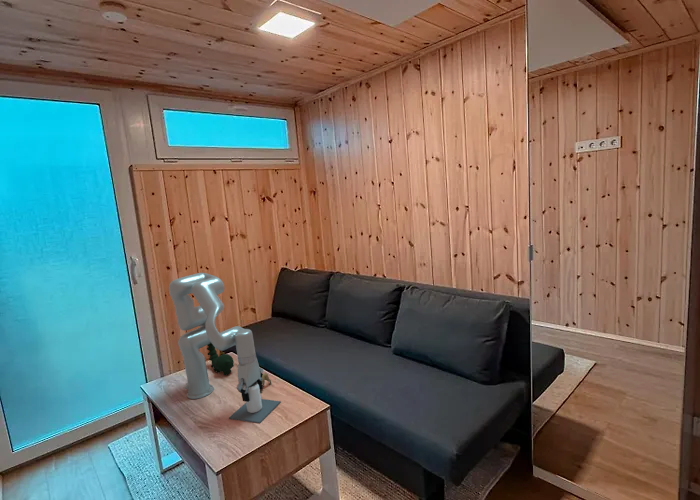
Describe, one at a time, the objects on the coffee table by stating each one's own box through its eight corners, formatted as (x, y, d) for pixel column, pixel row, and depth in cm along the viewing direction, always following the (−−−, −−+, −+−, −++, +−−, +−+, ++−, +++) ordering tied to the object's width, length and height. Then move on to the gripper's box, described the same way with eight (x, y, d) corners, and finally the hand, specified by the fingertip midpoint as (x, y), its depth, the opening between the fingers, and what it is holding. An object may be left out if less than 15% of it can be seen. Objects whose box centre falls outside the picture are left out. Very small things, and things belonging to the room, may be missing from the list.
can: (258, 413, 163) (254, 387, 162) (244, 413, 165) (240, 387, 163) (264, 405, 170) (260, 380, 168) (251, 405, 171) (247, 380, 169)
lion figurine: (261, 397, 178) (258, 379, 177) (250, 397, 179) (247, 379, 178) (273, 381, 192) (271, 365, 191) (263, 381, 193) (261, 365, 192)
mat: (229, 418, 163) (228, 417, 163) (251, 398, 178) (251, 397, 178) (260, 423, 157) (259, 422, 157) (280, 402, 171) (280, 401, 171)
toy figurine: (206, 371, 217) (224, 380, 198) (199, 340, 216) (217, 345, 197) (222, 365, 223) (241, 373, 204) (215, 334, 222) (234, 339, 203)
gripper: (252, 349, 173) (257, 384, 176) (226, 366, 157) (233, 405, 160) (265, 350, 170) (271, 385, 173) (241, 368, 154) (248, 406, 157)
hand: (253, 395), depth 166 cm, fingers open, 9 cm apart
